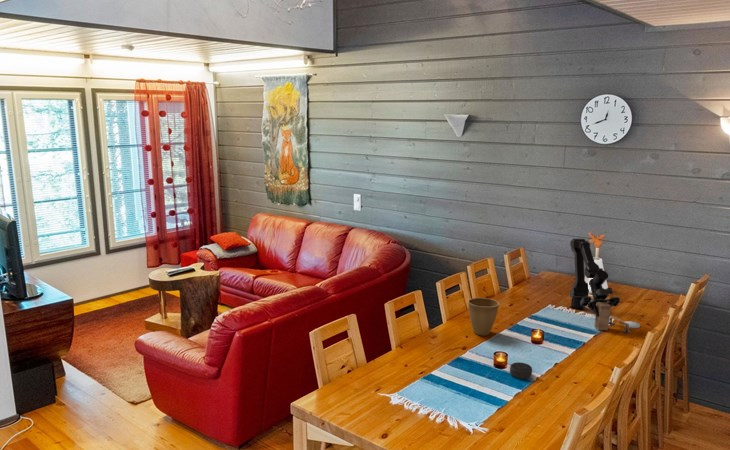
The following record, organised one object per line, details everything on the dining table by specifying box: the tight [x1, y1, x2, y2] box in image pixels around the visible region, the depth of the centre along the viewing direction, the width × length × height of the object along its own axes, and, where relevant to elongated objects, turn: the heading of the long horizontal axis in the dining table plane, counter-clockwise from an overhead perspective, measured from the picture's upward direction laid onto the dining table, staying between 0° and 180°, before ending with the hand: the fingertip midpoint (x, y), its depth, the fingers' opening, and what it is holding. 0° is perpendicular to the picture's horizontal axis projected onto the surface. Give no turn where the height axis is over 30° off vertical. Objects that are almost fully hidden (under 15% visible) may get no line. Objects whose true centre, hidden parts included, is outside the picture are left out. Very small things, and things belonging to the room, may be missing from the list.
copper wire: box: [609, 315, 631, 334], centre depth 302 cm, size 14×3×4 cm, turn 17°
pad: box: [623, 320, 641, 329], centre depth 306 cm, size 8×8×1 cm
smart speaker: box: [509, 361, 533, 380], centre depth 246 cm, size 9×9×4 cm
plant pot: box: [467, 297, 500, 336], centre depth 292 cm, size 15×15×16 cm
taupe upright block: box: [594, 302, 612, 331], centre depth 299 cm, size 5×5×13 cm
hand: (603, 316), depth 298 cm, fingers closed on taupe upright block, 5 cm apart
